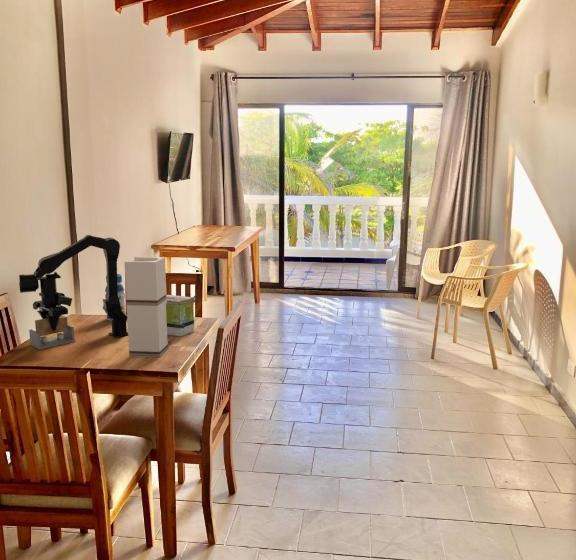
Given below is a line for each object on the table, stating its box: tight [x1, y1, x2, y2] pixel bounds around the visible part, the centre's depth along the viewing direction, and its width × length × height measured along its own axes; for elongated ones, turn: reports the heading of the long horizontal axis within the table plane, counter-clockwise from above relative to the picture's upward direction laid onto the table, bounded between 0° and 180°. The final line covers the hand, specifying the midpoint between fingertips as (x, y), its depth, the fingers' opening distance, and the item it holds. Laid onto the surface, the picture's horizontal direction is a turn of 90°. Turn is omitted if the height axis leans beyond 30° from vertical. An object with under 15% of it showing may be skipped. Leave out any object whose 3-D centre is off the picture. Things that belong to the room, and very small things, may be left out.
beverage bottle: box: [104, 273, 126, 322], centre depth 280 cm, size 8×8×20 cm
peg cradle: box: [28, 324, 76, 350], centre depth 245 cm, size 14×9×6 cm, turn 134°
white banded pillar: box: [123, 256, 170, 358], centre depth 230 cm, size 11×11×35 cm
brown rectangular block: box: [34, 315, 69, 337], centre depth 245 cm, size 11×4×6 cm, turn 134°
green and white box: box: [166, 294, 195, 337], centre depth 259 cm, size 15×10×15 cm, turn 63°
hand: (51, 329), depth 245 cm, fingers closed on brown rectangular block, 4 cm apart
